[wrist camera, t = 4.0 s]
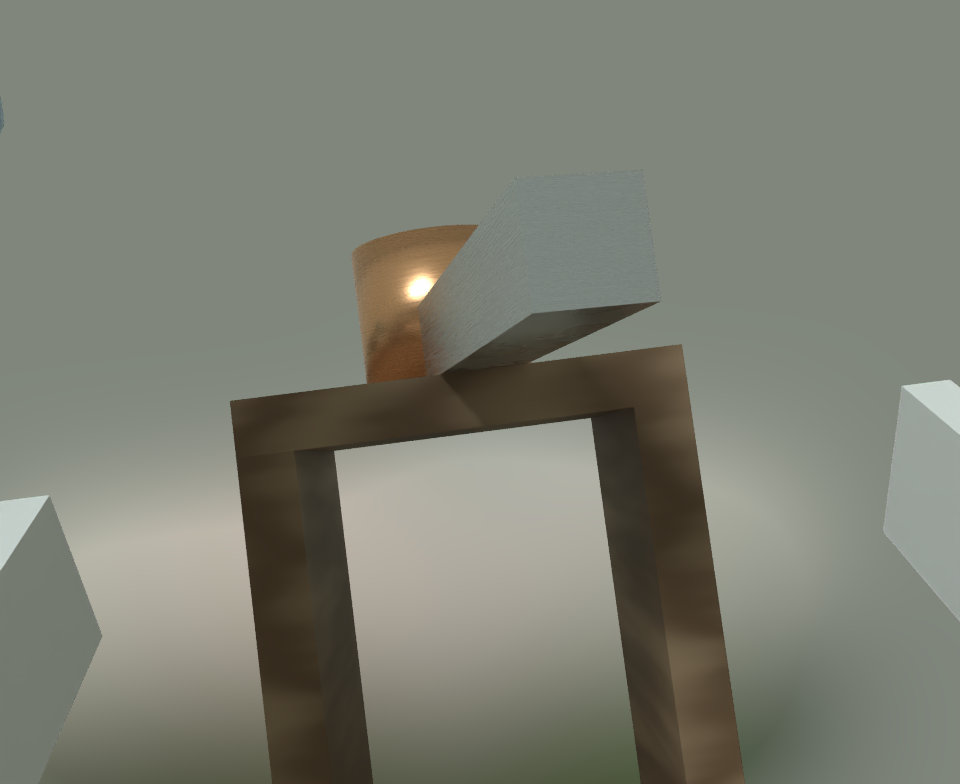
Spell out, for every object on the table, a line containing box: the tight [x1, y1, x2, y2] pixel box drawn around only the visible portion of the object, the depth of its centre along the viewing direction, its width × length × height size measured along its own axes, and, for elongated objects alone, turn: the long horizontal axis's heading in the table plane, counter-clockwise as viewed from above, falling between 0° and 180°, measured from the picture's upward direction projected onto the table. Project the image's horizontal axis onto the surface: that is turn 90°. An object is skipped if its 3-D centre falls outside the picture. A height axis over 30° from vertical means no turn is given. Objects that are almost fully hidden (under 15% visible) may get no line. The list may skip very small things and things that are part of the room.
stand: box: [230, 345, 745, 784], centre depth 35 cm, size 16×10×30 cm, turn 92°
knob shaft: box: [352, 170, 661, 384], centre depth 30 cm, size 7×22×6 cm, turn 12°
